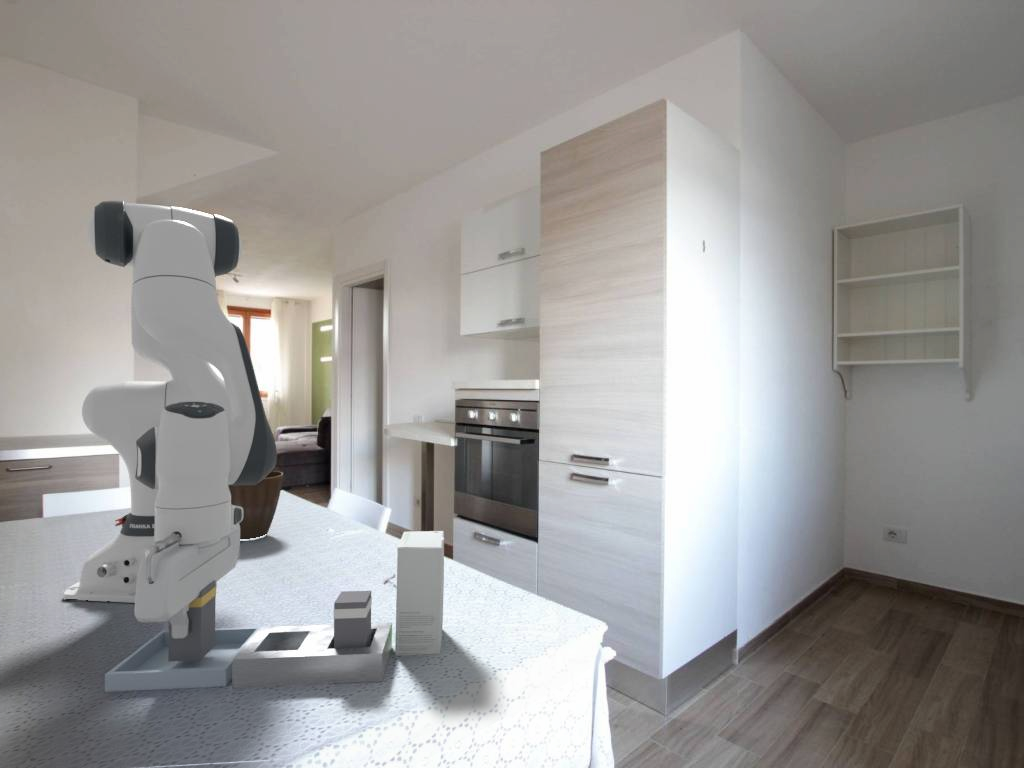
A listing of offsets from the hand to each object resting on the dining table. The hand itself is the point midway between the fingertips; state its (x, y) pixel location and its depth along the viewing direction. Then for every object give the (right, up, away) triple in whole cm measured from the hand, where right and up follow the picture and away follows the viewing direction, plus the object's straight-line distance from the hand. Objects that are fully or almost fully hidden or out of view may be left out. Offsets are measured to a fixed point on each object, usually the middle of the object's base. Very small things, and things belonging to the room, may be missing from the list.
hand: (192, 626), depth 71 cm
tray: (0, -5, -1) cm, 5 cm away
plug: (0, -4, 0) cm, 4 cm away
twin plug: (+22, -5, -1) cm, 22 cm away
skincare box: (+30, -6, +6) cm, 31 cm away
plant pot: (-24, -7, +64) cm, 68 cm away
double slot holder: (+17, -5, -1) cm, 18 cm away
